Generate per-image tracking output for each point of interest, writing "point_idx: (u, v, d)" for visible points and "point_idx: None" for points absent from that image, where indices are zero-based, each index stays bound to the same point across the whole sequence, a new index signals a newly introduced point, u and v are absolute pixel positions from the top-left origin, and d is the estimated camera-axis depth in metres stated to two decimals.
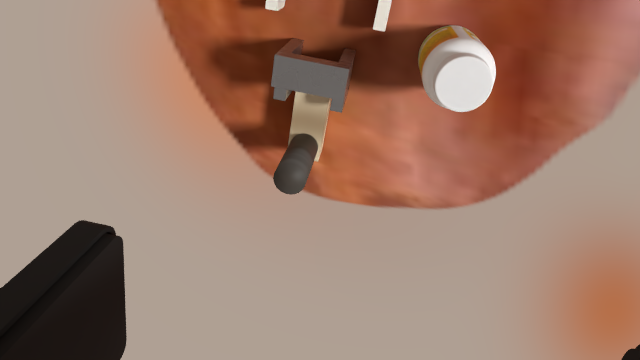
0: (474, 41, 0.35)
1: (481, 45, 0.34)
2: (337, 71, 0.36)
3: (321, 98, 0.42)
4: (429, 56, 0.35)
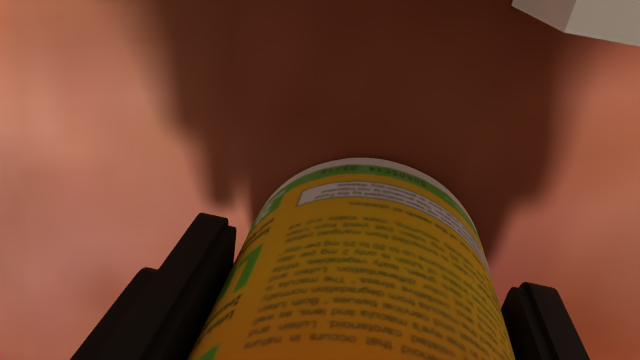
0: None
1: None
2: None
3: None
4: None
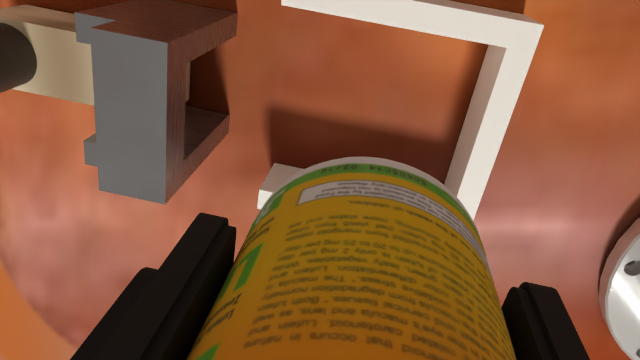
0: None
1: None
2: (155, 182, 0.17)
3: None
4: None
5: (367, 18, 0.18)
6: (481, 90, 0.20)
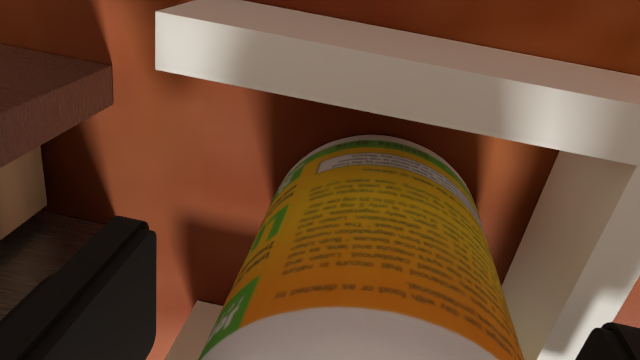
0: None
1: None
2: None
3: None
4: None
5: (336, 100, 0.08)
6: (558, 218, 0.11)
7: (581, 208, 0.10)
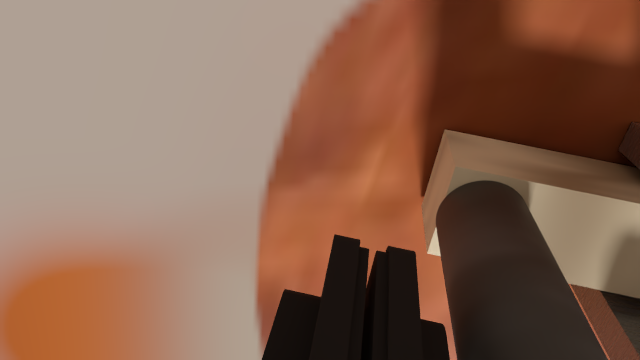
0: None
1: None
2: None
3: (635, 277, 0.14)
4: None
5: None
6: None
7: None
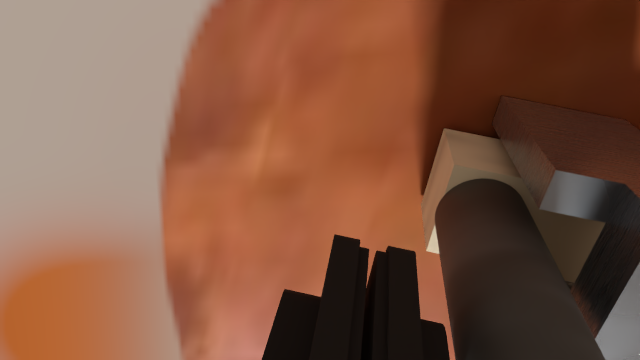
0: None
1: None
2: None
3: None
4: None
5: None
6: None
7: None
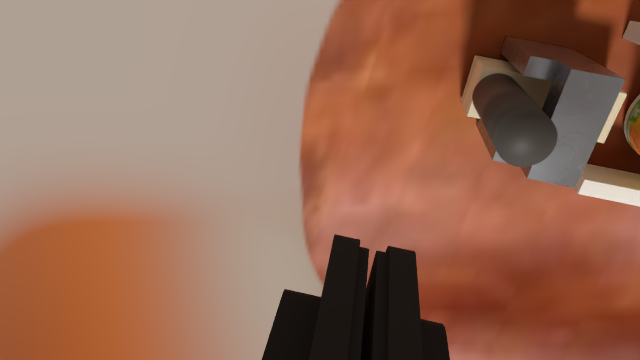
0: None
1: None
2: (574, 172, 0.24)
3: None
4: None
5: None
6: None
7: None
